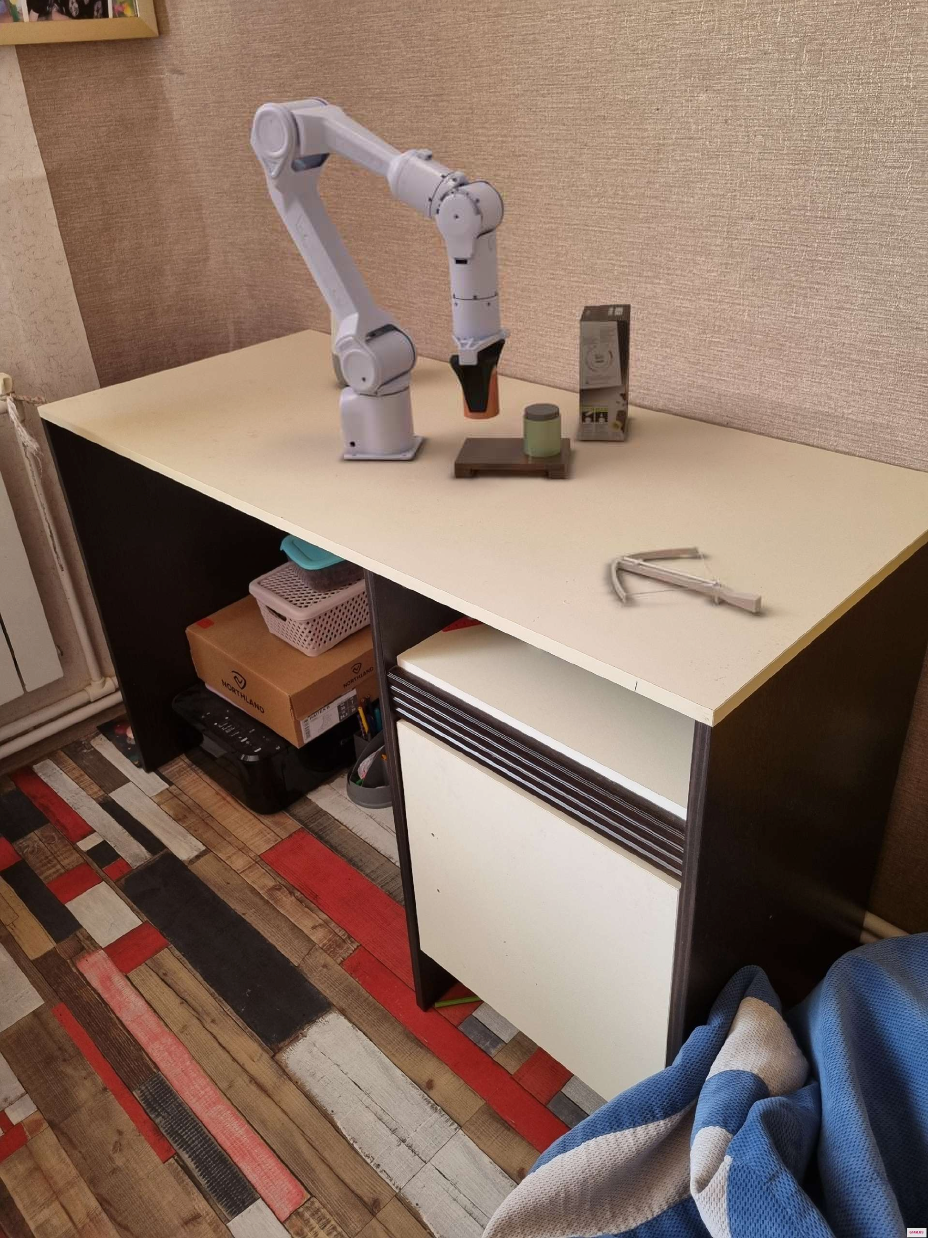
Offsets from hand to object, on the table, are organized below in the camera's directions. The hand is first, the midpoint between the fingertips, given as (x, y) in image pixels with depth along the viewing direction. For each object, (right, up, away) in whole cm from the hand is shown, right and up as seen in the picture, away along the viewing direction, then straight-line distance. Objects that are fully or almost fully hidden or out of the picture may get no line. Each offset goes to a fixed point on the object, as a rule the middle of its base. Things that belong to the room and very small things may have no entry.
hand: (481, 404), depth 120 cm
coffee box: (+17, -1, +12) cm, 22 cm away
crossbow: (+19, -24, -26) cm, 41 cm away
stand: (+4, -7, +4) cm, 9 cm away
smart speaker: (-19, +12, +38) cm, 45 cm away
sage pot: (+8, -5, +2) cm, 10 cm away
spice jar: (0, -1, +1) cm, 1 cm away
